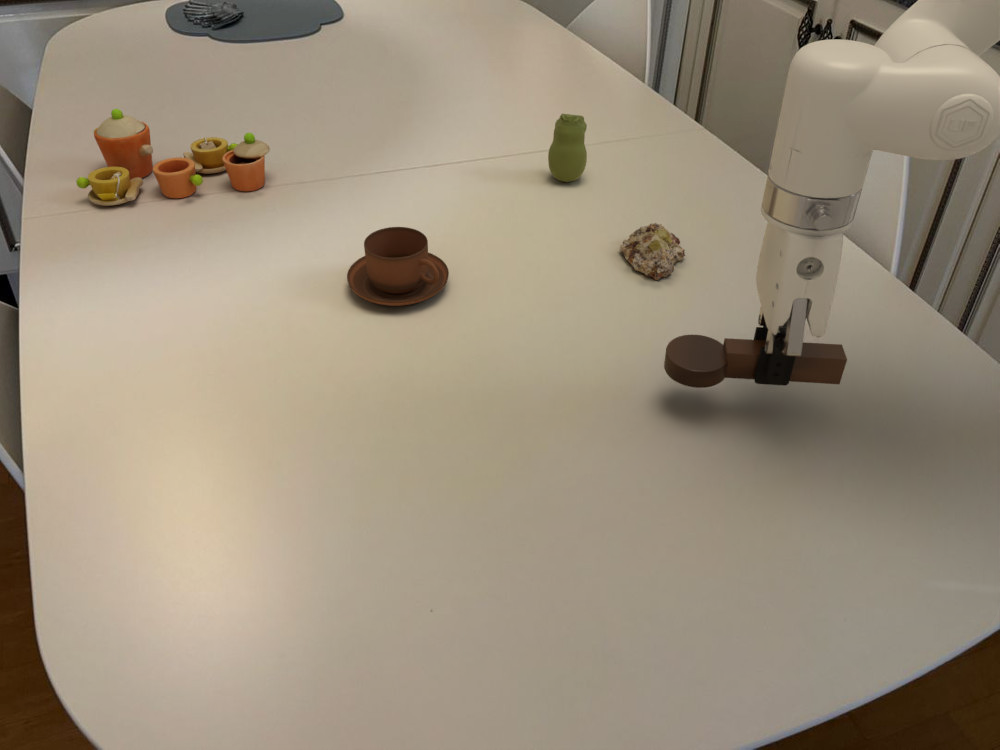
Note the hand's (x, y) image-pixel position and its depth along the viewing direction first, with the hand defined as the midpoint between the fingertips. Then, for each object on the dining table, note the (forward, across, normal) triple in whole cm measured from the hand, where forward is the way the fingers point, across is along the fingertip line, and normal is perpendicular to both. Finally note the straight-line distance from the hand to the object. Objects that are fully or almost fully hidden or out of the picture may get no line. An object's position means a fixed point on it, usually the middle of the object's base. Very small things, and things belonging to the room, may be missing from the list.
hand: (768, 371), depth 83 cm
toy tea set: (+4, +42, +77) cm, 88 cm away
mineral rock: (+5, +28, +10) cm, 30 cm away
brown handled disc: (0, 0, +2) cm, 2 cm away
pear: (+5, +50, +21) cm, 54 cm away
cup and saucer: (+4, +18, +40) cm, 44 cm away
